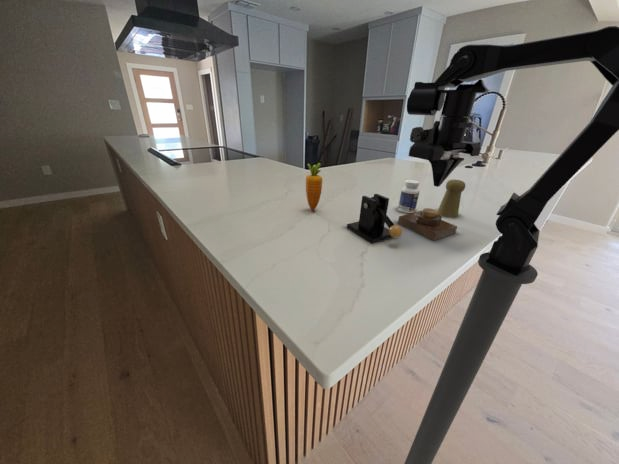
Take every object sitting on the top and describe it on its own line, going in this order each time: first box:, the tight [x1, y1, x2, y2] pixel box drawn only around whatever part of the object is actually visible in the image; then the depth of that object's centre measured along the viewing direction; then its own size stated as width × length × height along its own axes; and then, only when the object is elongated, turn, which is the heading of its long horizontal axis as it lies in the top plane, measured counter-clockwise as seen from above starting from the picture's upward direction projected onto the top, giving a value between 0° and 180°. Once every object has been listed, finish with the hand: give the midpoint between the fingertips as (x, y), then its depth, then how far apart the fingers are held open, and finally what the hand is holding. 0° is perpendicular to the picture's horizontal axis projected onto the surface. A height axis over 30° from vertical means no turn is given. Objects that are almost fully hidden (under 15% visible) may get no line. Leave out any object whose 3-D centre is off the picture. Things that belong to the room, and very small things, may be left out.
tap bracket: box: [346, 193, 394, 244], centre depth 65 cm, size 10×8×10 cm
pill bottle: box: [397, 179, 421, 214], centre depth 81 cm, size 5×5×10 cm
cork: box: [436, 179, 466, 219], centre depth 79 cm, size 6×6×11 cm
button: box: [421, 207, 438, 218], centre depth 69 cm, size 4×4×2 cm
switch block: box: [397, 210, 458, 241], centre depth 70 cm, size 12×9×4 cm
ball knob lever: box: [370, 196, 403, 239], centre depth 62 cm, size 12×3×3 cm, turn 30°
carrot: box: [305, 162, 323, 212], centre depth 77 cm, size 5×5×15 cm
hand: (436, 186), depth 63 cm, fingers closed
